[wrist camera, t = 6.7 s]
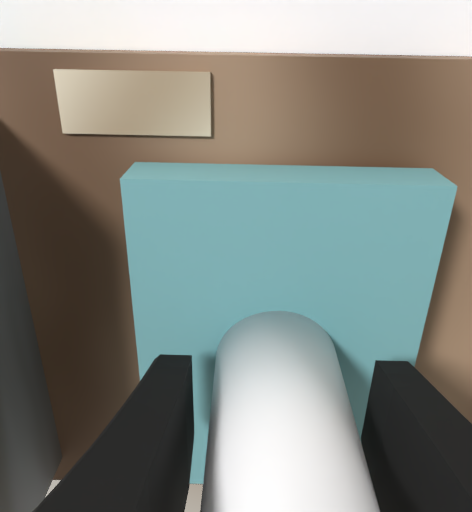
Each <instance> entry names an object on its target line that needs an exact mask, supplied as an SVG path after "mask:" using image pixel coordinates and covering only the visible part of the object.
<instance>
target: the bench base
mask: <svg viewBox="0 0 472 512" xmlns="http://www.w3.org/2000/svg"><path fill="white" fill-rule="evenodd" d="M134 162H160V163H207V164H253V165H300V166H347V167H393V168H433V169H434V170H436V171H437V172H438V173H440V174H441V175H443V176H444V177H445V178H447V179H448V180H450V181H451V182H452V183H454V184H455V185H457V186H458V187H457V191H456V195H455V199H454V203H453V208H452V212H451V216H450V220H449V224H448V229H447V233H446V237H445V241H444V245H443V249H442V254H441V258H440V262H439V266H438V270H437V275H436V279H435V283H434V287H433V291H432V296H431V300H430V304H429V308H428V312H427V316H426V321H425V325H424V329H423V333H422V337H421V342H420V346H419V350H418V354H417V358H416V363H415V368H416V369H417V370H418V371H419V372H420V373H421V374H422V375H423V376H424V377H425V378H426V379H427V380H428V381H429V382H430V383H431V384H432V385H433V386H434V387H435V388H436V389H437V390H438V391H439V392H440V393H441V394H442V395H443V396H444V397H445V398H446V399H447V400H448V401H449V402H450V403H451V404H452V405H453V406H454V407H455V408H456V409H457V410H458V411H459V412H460V413H461V414H462V415H463V416H464V417H465V418H466V419H467V420H468V421H469V422H470V423H471V424H472V57H467V56H411V55H354V54H298V53H242V52H186V51H130V50H74V49H18V48H0V512H32V511H33V510H34V509H35V508H36V507H37V506H38V505H39V504H40V503H41V502H42V501H43V500H44V498H45V496H46V494H47V491H48V489H49V487H50V485H51V482H52V480H62V479H63V478H64V476H65V475H66V474H67V473H68V472H69V471H70V469H71V468H72V467H73V466H74V465H75V464H76V463H77V461H78V460H79V459H80V458H81V457H82V456H83V454H84V453H85V452H86V451H87V450H88V449H89V447H90V446H91V445H92V444H93V443H94V441H95V440H96V439H97V438H98V436H99V435H100V434H101V433H102V431H103V430H104V429H105V427H106V426H107V425H108V424H109V422H110V421H111V420H112V418H113V417H114V416H115V415H116V413H117V412H118V411H119V410H120V408H121V407H122V406H123V404H124V403H125V401H126V400H127V399H128V397H129V396H130V395H131V393H132V392H133V390H134V389H135V388H136V386H137V385H138V383H139V382H140V375H139V365H138V355H137V345H136V335H135V325H134V315H133V305H132V295H131V285H130V275H129V265H128V255H127V245H126V235H125V225H124V215H123V205H122V195H121V185H120V178H121V177H122V176H123V175H124V174H125V173H126V171H127V170H128V169H129V168H130V167H131V166H132V165H133V164H134Z"/></svg>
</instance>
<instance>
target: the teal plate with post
mask: <svg viewBox="0 0 472 512" xmlns="http://www.w3.org/2000/svg"><path fill="white" fill-rule="evenodd" d="M120 185H121V195H122V205H123V215H124V225H125V235H126V245H127V255H128V265H129V275H130V285H131V295H132V305H133V315H134V325H135V335H136V345H137V355H138V365H139V375H140V380H141V379H142V377H143V376H144V374H145V373H146V371H147V370H148V368H149V367H150V365H151V364H152V362H153V361H154V359H155V358H156V357H158V356H159V355H160V354H166V355H192V376H193V405H194V444H193V454H192V464H191V473H190V483H189V484H203V491H202V501H201V511H200V512H380V509H379V505H378V502H377V498H376V495H375V491H374V487H373V484H372V480H371V477H370V473H369V469H368V466H367V462H366V459H365V455H364V451H363V448H362V443H361V434H362V429H363V424H364V418H365V413H366V408H367V403H368V397H369V392H370V387H371V381H372V376H373V371H374V366H375V360H384V361H408V362H409V363H410V364H411V365H413V366H414V367H415V363H416V358H417V354H418V350H419V346H420V342H421V337H422V333H423V329H424V325H425V321H426V316H427V312H428V308H429V304H430V300H431V296H432V291H433V287H434V283H435V279H436V275H437V270H438V266H439V262H440V258H441V254H442V249H443V245H444V241H445V237H446V233H447V229H448V224H449V220H450V216H451V212H452V208H453V203H454V199H455V195H456V191H457V187H458V186H457V185H455V184H454V183H452V182H451V181H450V180H448V179H447V178H445V177H444V176H443V175H441V174H440V173H438V172H437V171H436V170H434V169H433V168H393V167H347V166H300V165H253V164H207V163H160V162H134V164H133V165H132V166H131V167H130V168H129V169H128V170H127V171H126V173H125V174H124V175H123V176H122V177H121V178H120Z"/></svg>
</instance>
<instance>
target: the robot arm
mask: <svg viewBox="0 0 472 512" xmlns="http://www.w3.org/2000/svg"><path fill="white" fill-rule="evenodd" d="M361 443H362V448H363V451H364V455H365V459H366V462H367V466H368V469H369V473H370V477H371V480H372V484H373V487H374V491H375V495H376V498H377V502H378V505H379V509H380V512H472V424H471V423H470V422H469V421H468V420H467V419H466V418H465V417H464V416H463V415H462V414H461V413H460V412H459V411H458V410H457V409H456V408H455V407H454V406H453V405H452V404H451V403H450V402H449V401H448V400H447V399H446V398H445V397H444V396H443V395H442V394H441V393H440V392H439V391H438V390H437V389H436V388H435V387H434V386H433V385H432V384H431V383H430V382H429V381H428V380H427V379H426V378H425V377H424V376H423V375H422V374H421V373H420V372H419V371H418V370H417V369H416V368H415V367H414V366H413V365H411V364H410V363H409V362H408V361H384V360H375V366H374V371H373V376H372V381H371V387H370V392H369V397H368V403H367V408H366V413H365V418H364V424H363V429H362V434H361ZM193 444H194V405H193V376H192V355H166V354H160V355H159V356H158V357H156V358H155V359H154V361H153V362H152V364H151V365H150V367H149V368H148V370H147V371H146V373H145V374H144V376H143V377H142V379H141V380H140V382H139V383H138V385H137V386H136V388H135V389H134V390H133V392H132V393H131V395H130V396H129V397H128V399H127V400H126V401H125V403H124V404H123V406H122V407H121V408H120V410H119V411H118V412H117V413H116V415H115V416H114V417H113V418H112V420H111V421H110V422H109V424H108V425H107V426H106V427H105V429H104V430H103V431H102V433H101V434H100V435H99V436H98V438H97V439H96V440H95V441H94V443H93V444H92V445H91V446H90V447H89V449H88V450H87V451H86V452H85V453H84V454H83V456H82V457H81V458H80V459H79V460H78V461H77V463H76V464H75V465H74V466H73V467H72V468H71V469H70V471H69V472H68V473H67V474H66V475H65V476H64V478H63V479H62V480H61V481H60V482H59V484H58V485H57V486H56V487H55V488H54V489H53V490H52V491H51V492H50V493H49V495H48V496H47V497H46V498H45V499H44V500H43V501H42V502H41V503H40V504H39V505H38V506H37V507H36V508H35V509H34V510H33V511H32V512H184V510H185V504H186V500H187V495H188V490H189V483H190V473H191V464H192V454H193Z"/></svg>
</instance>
